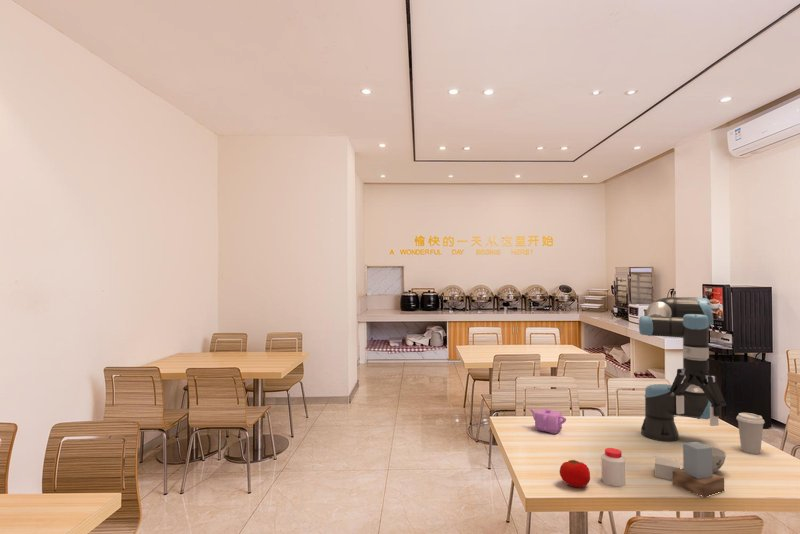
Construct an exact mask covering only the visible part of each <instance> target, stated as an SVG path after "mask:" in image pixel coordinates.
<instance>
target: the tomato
mask: <svg viewBox="0 0 800 534" xmlns="http://www.w3.org/2000/svg"><path fill="white" fill-rule="evenodd" d="M559 475H560V477H561V480H562V481H563V482H564V483H565V484H566V485H569V486H571V487H573V488H582V487H586V486H587V485H588V484H589V482H591V472H590V468H589V467H588V465H587V464H585V463H584V462H582V461H581V462H580V461H578V460H576V459H570V460H568V461H564V462H563V463H562V464H561V465H560V468H559Z"/></svg>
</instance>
